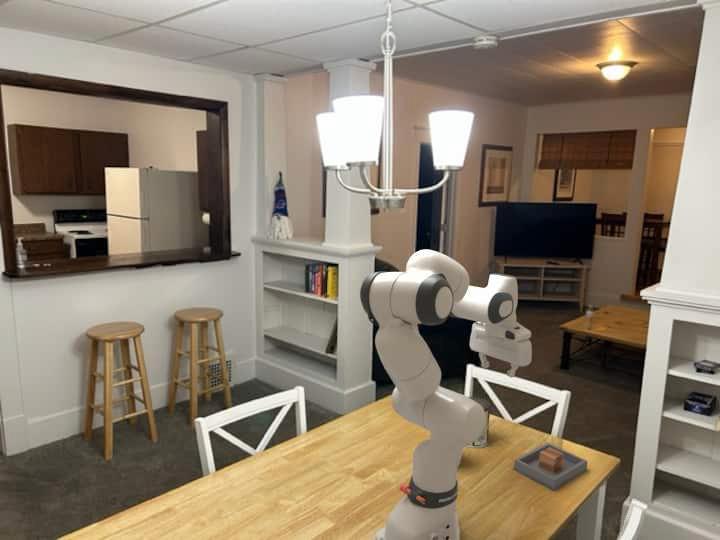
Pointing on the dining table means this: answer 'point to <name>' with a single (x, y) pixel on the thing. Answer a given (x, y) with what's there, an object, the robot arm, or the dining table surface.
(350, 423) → the dining table surface
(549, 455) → the block
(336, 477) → the dining table surface
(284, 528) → the dining table surface
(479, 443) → the coffee can
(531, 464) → the tray
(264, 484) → the dining table surface
